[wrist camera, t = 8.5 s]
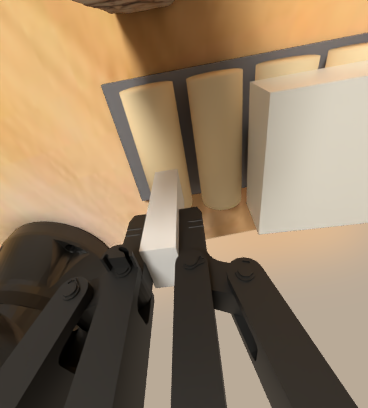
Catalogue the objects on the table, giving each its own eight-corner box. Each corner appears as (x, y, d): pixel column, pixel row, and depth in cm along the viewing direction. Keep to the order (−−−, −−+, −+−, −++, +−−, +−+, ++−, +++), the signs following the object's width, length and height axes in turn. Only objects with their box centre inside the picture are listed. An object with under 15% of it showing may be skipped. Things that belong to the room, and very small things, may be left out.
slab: (246, 203, 19) (258, 234, 16) (249, 81, 13) (270, 92, 10) (385, 186, 18) (428, 216, 15) (459, 43, 12) (559, 42, 9)
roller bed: (143, 197, 24) (135, 224, 21) (103, 84, 17) (81, 94, 14) (388, 165, 22) (429, 189, 18) (462, 14, 15) (555, 3, 11)
